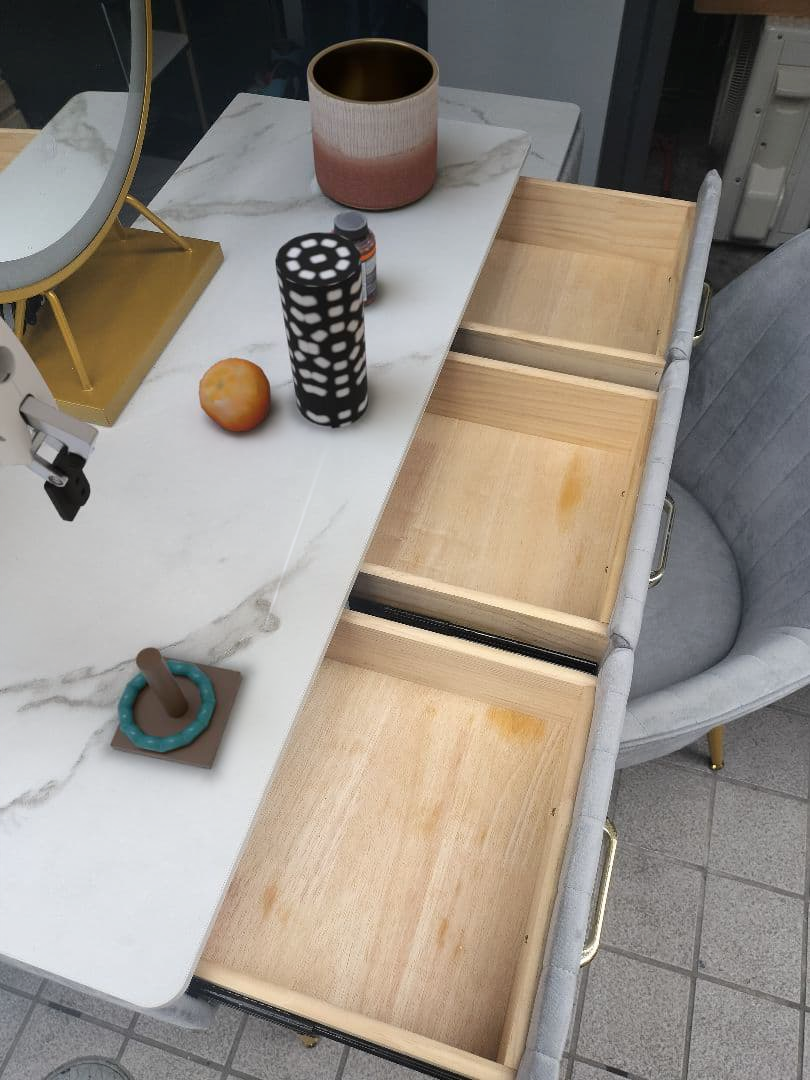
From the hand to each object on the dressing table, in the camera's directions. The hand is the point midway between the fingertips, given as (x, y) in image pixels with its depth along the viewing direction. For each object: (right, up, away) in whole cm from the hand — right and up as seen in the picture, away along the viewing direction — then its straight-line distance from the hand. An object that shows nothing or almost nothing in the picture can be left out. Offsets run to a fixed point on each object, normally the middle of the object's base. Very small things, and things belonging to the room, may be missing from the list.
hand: (12, 491), depth 57 cm
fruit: (+8, +11, +38) cm, 40 cm away
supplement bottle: (+21, +28, +49) cm, 61 cm away
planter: (+23, +50, +64) cm, 84 cm away
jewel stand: (+7, -19, +17) cm, 27 cm away
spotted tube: (+19, +13, +39) cm, 45 cm away
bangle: (+6, -18, +16) cm, 25 cm away
